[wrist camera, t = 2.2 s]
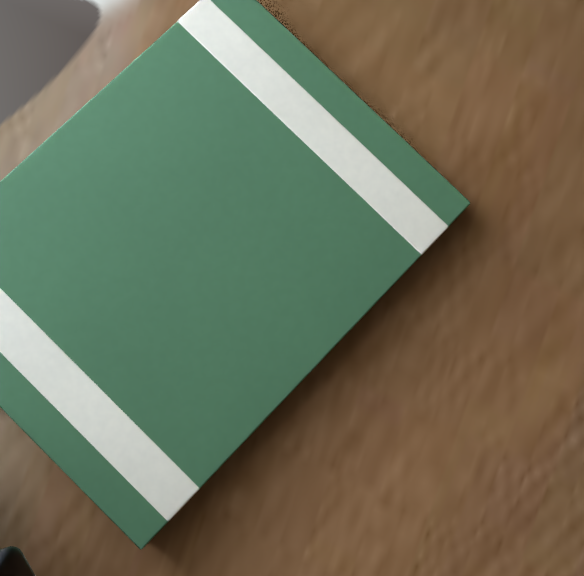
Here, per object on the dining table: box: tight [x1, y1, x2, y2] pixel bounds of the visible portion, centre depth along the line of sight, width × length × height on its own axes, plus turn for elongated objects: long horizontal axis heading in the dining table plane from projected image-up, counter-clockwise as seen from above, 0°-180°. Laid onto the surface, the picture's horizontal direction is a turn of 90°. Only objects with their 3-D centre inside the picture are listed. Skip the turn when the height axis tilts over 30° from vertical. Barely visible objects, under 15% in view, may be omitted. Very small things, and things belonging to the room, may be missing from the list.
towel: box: [0, 0, 470, 549], centre depth 22 cm, size 20×15×1 cm
